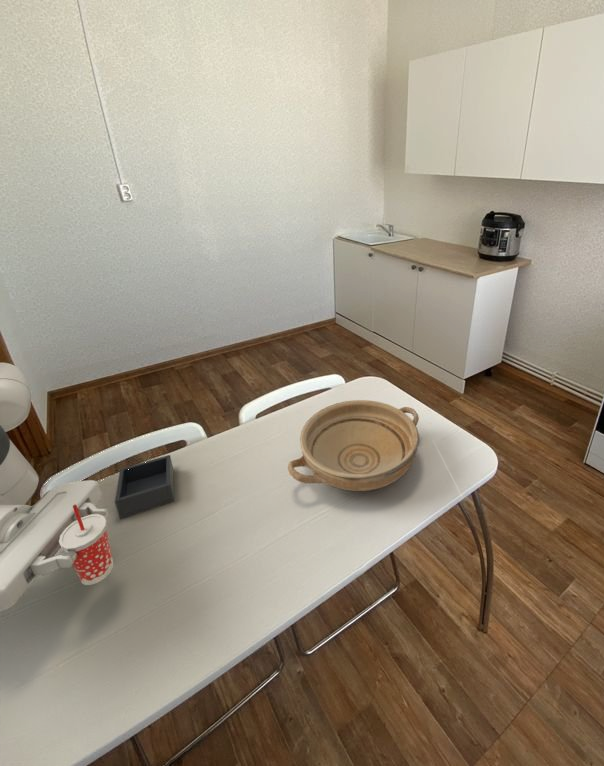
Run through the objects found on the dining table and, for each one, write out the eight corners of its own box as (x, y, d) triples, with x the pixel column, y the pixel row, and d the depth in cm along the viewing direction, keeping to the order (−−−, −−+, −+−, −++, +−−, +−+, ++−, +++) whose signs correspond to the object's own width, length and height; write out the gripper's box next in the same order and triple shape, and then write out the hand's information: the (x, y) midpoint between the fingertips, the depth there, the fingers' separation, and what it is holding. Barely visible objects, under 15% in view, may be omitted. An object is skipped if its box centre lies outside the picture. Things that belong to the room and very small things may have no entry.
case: (120, 519, 82) (114, 501, 80) (125, 485, 91) (120, 468, 89) (174, 501, 86) (170, 484, 84) (173, 470, 95) (170, 454, 93)
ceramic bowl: (326, 550, 75) (324, 511, 71) (266, 465, 96) (262, 433, 93) (453, 466, 95) (456, 432, 92) (380, 412, 117) (380, 383, 113)
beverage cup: (73, 568, 63) (48, 503, 58) (115, 546, 67) (96, 483, 62) (75, 598, 59) (49, 530, 54) (121, 573, 62) (100, 508, 57)
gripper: (59, 498, 71) (133, 498, 71) (-55, 619, 52) (45, 620, 52) (49, 471, 69) (125, 471, 69) (-73, 587, 50) (31, 588, 49)
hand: (90, 536), depth 60 cm, fingers closed on beverage cup, 6 cm apart
